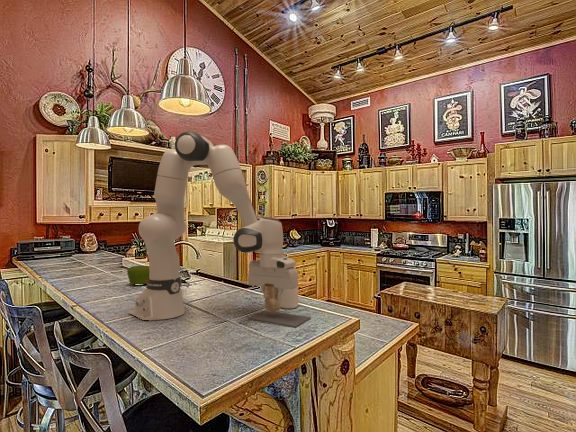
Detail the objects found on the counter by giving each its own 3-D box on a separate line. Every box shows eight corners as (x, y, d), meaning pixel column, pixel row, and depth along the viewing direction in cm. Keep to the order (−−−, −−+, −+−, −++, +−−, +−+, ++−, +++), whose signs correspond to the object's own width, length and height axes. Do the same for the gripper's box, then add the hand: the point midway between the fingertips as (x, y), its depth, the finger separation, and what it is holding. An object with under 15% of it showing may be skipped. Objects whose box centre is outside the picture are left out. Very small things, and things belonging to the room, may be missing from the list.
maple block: (265, 310, 124) (264, 283, 124) (271, 307, 127) (270, 281, 127) (274, 312, 122) (273, 284, 122) (280, 309, 125) (279, 282, 125)
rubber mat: (248, 319, 123) (248, 317, 123) (265, 311, 133) (265, 309, 133) (295, 328, 113) (295, 326, 113) (310, 318, 122) (310, 317, 122)
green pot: (123, 287, 183) (122, 266, 183) (136, 282, 195) (136, 262, 195) (144, 287, 181) (143, 266, 181) (156, 282, 193) (156, 263, 193)
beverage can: (302, 306, 139) (301, 277, 139) (289, 310, 133) (288, 280, 133) (288, 303, 145) (287, 275, 145) (274, 307, 139) (274, 277, 139)
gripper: (244, 260, 127) (244, 297, 127) (290, 264, 116) (291, 304, 116) (254, 258, 132) (254, 294, 132) (299, 261, 122) (300, 299, 122)
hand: (272, 298), depth 124 cm, fingers closed on maple block, 4 cm apart
